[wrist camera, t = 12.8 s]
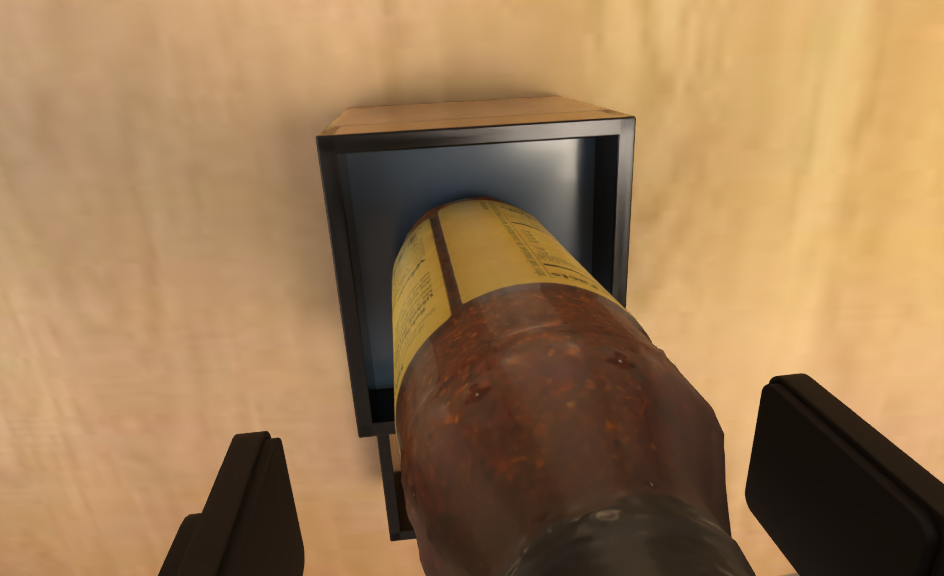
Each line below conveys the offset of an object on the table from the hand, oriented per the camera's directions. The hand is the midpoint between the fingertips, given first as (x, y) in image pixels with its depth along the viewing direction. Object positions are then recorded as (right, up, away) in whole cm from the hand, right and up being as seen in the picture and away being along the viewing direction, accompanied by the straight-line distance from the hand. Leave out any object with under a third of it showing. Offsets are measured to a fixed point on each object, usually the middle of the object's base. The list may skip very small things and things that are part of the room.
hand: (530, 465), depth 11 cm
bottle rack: (-1, +2, +21) cm, 21 cm away
